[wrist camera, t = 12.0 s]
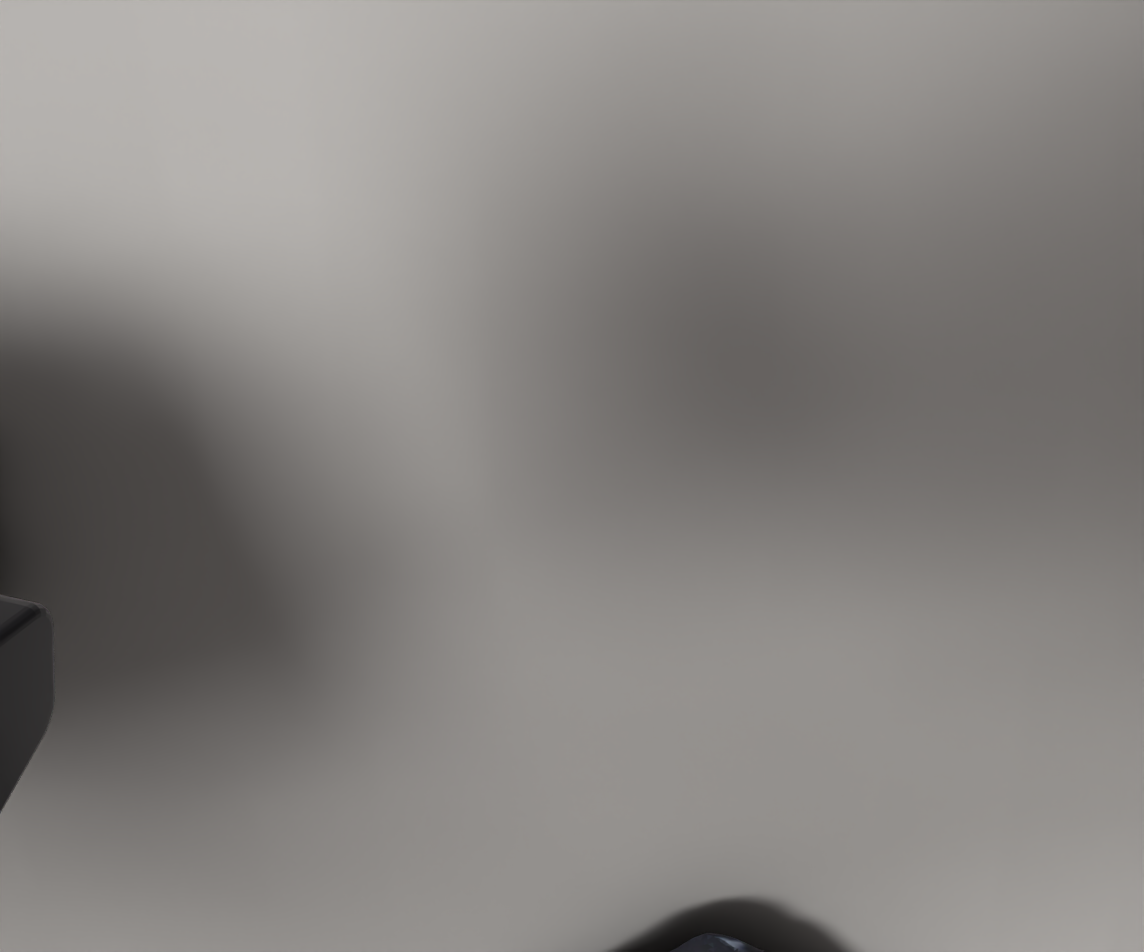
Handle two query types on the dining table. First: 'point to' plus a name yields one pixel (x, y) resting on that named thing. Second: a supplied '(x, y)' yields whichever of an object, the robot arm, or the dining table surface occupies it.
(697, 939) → the dark slate chunk
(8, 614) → the robot arm
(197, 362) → the dining table surface
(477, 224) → the dining table surface
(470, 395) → the dining table surface
